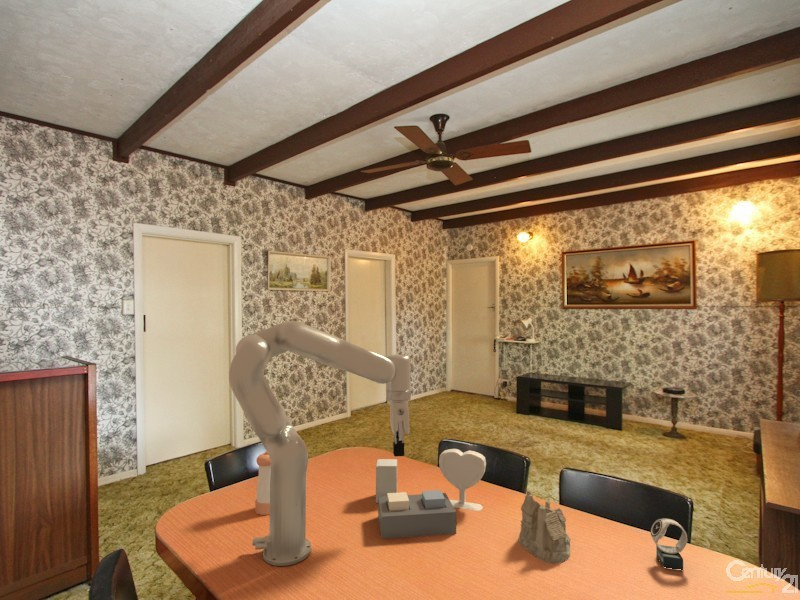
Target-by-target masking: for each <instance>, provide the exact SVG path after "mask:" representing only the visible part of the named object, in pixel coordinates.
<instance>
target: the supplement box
mask: <svg viewBox="0 0 800 600" xmlns="http://www.w3.org/2000/svg"><path fill="white" fill-rule="evenodd" d="M376 460H377V461H376V466H375V504H378V497H384V496H387V493H398V459H396V458H384V459H383V458H382V459H381V458H379V459H376Z"/></svg>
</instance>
